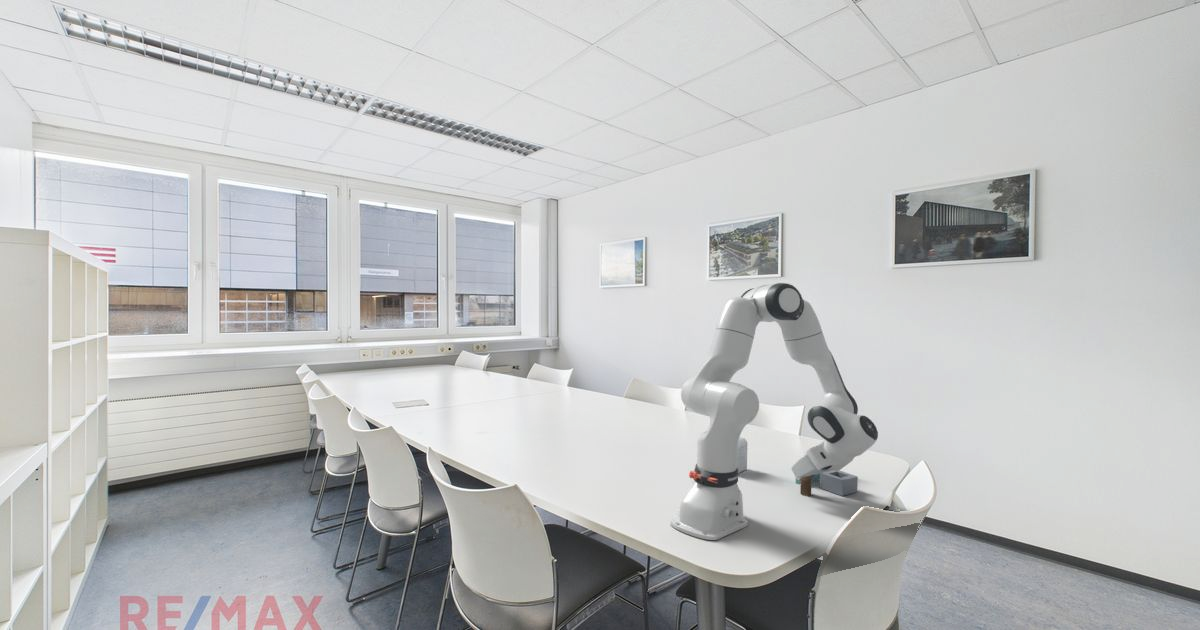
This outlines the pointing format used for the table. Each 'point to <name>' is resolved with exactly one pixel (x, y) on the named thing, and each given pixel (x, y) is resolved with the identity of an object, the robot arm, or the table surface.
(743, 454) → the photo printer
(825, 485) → the socket block
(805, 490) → the walnut dowel
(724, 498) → the robot arm
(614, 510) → the table surface
